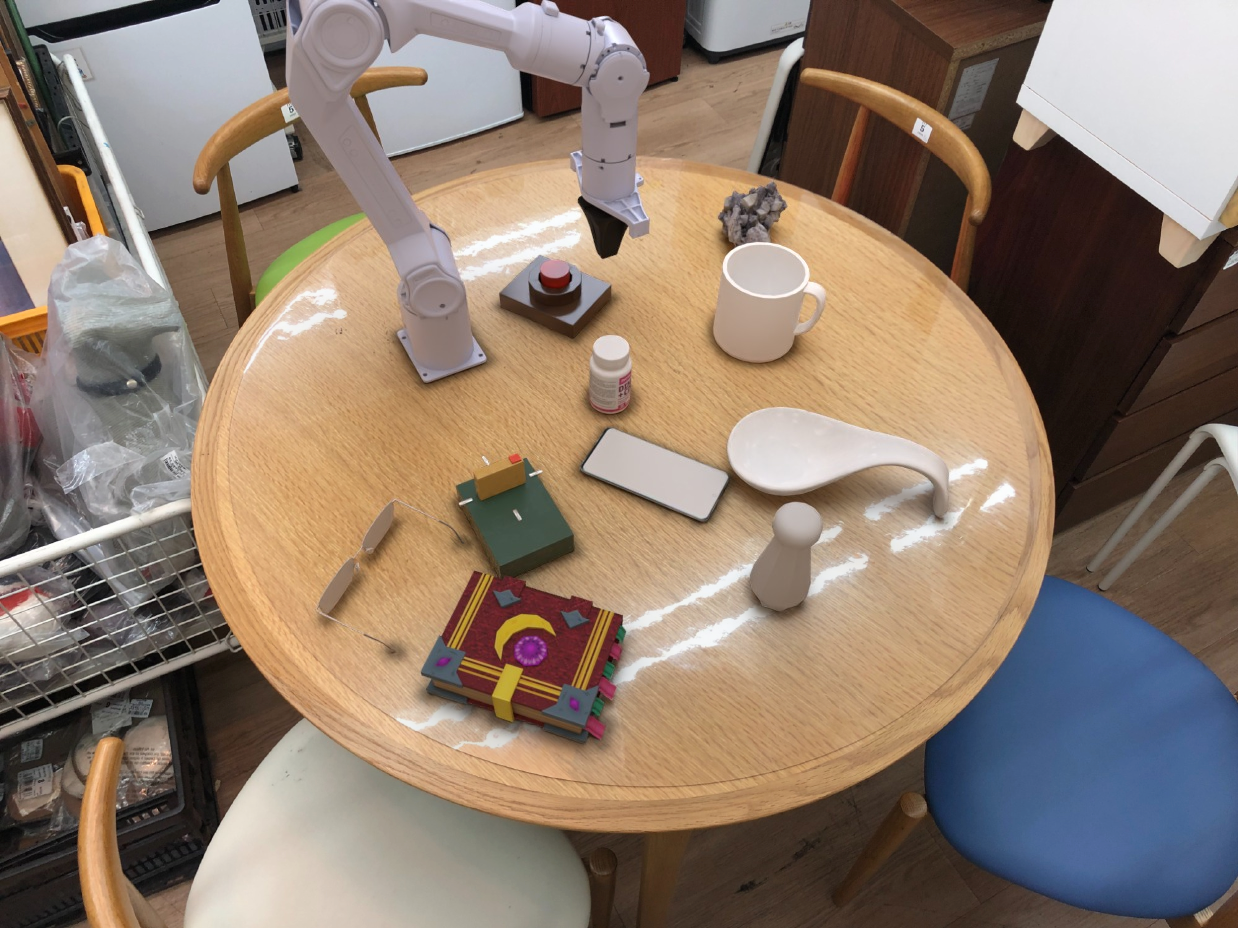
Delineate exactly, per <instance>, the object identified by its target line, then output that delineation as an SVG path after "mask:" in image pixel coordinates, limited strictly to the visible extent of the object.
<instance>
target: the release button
mask: <svg viewBox="0 0 1238 928" xmlns="http://www.w3.org/2000/svg"><path fill="white" fill-rule="evenodd" d="M566 262H567V261H565V262H564V260H561V259H556V258H555V259H554V258H553V259H551V260H548V261H546V262H544V263H543V264H542V265H541V267H540V276H541V283H542V284H543V285H544V286H545V287H548V288H556V289H559V288H562V287H565V286H566V285H568V283H569V281H570V268H569V265H568V264H567V263H568V262H567V263H566Z"/></svg>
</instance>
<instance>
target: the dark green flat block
mask: <svg viewBox="0 0 1238 928" xmlns="http://www.w3.org/2000/svg"><path fill="white" fill-rule="evenodd" d="M481 459H482V461H483V462H484V464H485V466H487V465H490V464H491V463H490V462H489V460H488V458H487V456H486V455H482V456H481ZM522 459H523V461H524V469H525V480H526V483H524V484H521V485H519V486H516V487H514V488H511V489H509V490H507V491H504V492H502V493H499V494H497V495H494V496H492V497H489V498H487V499H484V500H482V501H481V500H480V498H479V496H478V495H477V493H476V487H475V481H474V477H473V478H471V479H469V480H466V481H464V482H460V483H459V484H456V485H455V490H456V494H457V500H458V506H459V507H461V509H462V511H463V513H464V515H465V517H466V519H467V520H468V522H469V524H470V526H471V527H472V529H473V532H474V534H475V535H476V537H477V539H478V541H479V543H480V544H481V546H482V548H483V550H484V552H485V554H486V556H487V558H488V559H489V561H490V563H491V565H492V567H493V569H494V570H495V573H496V575H497V577H498V578H501V579H503V578H504V576H505V575H506V576H510V577H513V578H516V577H517V576H520V575H522V574H525V573H527V572H529V571H531V570H533V569H535V568H538V567H540V566H542V565H543V566H544V565H545V564H547V563H549V562H552V561H554V560H556V559H558V558H560V557H561V558H562V557H563V556H565V555H567V554H569V553H572V552H574V551H575V533H574V532H573V530H572V529H571V527H570V525H569V524H568V522H567V520H566V518H565V517H564V515H563V514H562V512H561V511H560V509H559V507H558V506H557V504H556V502H555V501H554V499H553V498H552V497H551V495H550V492H549V491H548V490H547V488H546V487H545V485H544V484H543V483H544V482H542V480H541V478H540V477H539V475H541V474H543V473H544V472H543V470H542V469H539V470H537V471H536V470H535V469H534V467H533V465H532V464H531V462H530V460H529V459H528V457H524V458H522Z"/></svg>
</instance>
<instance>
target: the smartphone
mask: <svg viewBox="0 0 1238 928" xmlns="http://www.w3.org/2000/svg"><path fill="white" fill-rule="evenodd" d="M580 471H581V472H582V473H583V474H586V475H587V476H591V477H593V478H595V479H597V480H600V481H602V482H604V483H606V484H610V485H612V486H614V487H617V488H619V489H622V490H624V491H626V492H628V493H632V494H634V495H637V496H639V497H641V498H643V499H645V500H648V501H651V502H654V503H656V504H658V505H660V506H663V507H666V508H667V509H670V510H673V511H675V512H677V513H679V514H682V515H685V516H687V517H690V518H692V519H695V520H697V521H699V522H707V521H708V520H709V519H710V517H711V515H712V513H713V512H714V510H715V508H716V506H717V504H718V502H719V501H720V499H721V496H722V495H723V493H724V491H725V489H726V487H727V485H728V483H729V481H730V479H731V477H730V474H729V473H728V472H726V471H723V470H721V469H718V468H716V467H713V466H711V465H709V464H707V463H704V462H700V461H698V460H695V459H694V458H690V457H688V456H686V455H683V454H681V453H678V452H675V451H673V450H671V449H667V448H665V447H663V446H660V445H657V444H655V443H653V442H650V441H647V440H645V439H642V438H640V437H638V436H635V435H632V434H630V433H627V432H624V431H622V430H619V429H617V428H615V427H611V426H610V427H606V428H604V429H603V432H602V433H601V434H600V435H599V437H598V439H597V440H596V442H595V443H594V444H593V446H592V448H590V451H589V452H588V453H587V455H586V456H585V458H584V460H583V461H582V463H580Z"/></svg>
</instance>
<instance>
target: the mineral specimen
mask: <svg viewBox="0 0 1238 928" xmlns="http://www.w3.org/2000/svg"><path fill="white" fill-rule="evenodd" d="M777 186H778V185H777V183H776V182H775V181H773V180H771V181H770V182H767V184H766V185H765V186H764V185H758V187H757V188H755V187H751V188H750V189H749V191H748V193H743V192H742V193H739V192H738V191H736V190H733V192H732V193H731V195H728V196H726V197H725V198H724V202H723V209H722V210H721V212H719V214H718V215H717V219H718V220H719V221H720V222H721V223H722V227H721V228H722V231H721V232H722V233H723V234H724V235H725V236H726V237H727V238H728V242H730V243H732V244H733V245H734V248H736V247H738V246H741V245H744V244H747V243H754V242H768V243H772V239H771V236H770V233H771V228H772V226H773V225H774V223H779V221H780V218H781V214H782V213H783V212H784V211H785V210H786V209H787V208H788V203H787V201H786V200H785V199H783V196H782V195H781V194H780V191H778V188H777Z"/></svg>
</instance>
